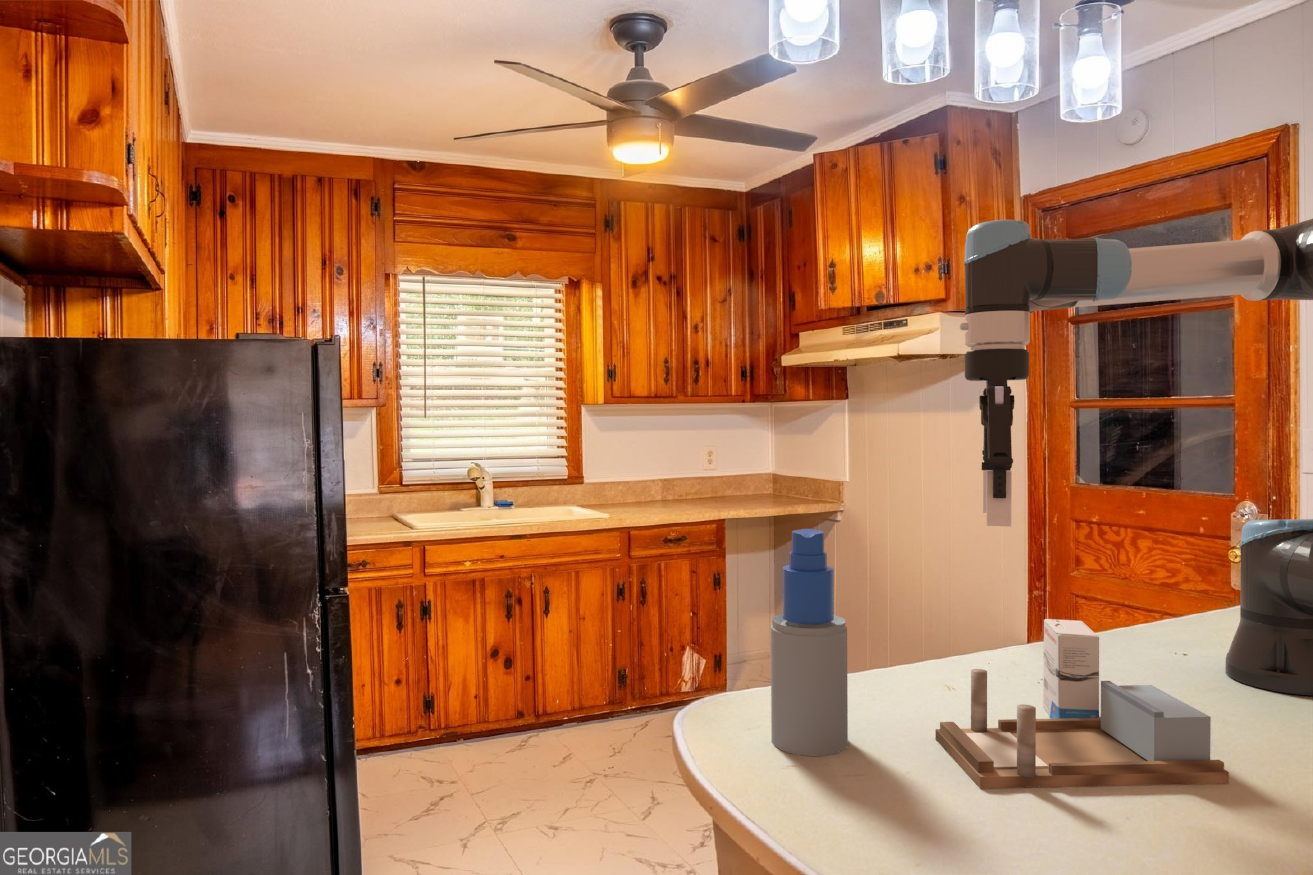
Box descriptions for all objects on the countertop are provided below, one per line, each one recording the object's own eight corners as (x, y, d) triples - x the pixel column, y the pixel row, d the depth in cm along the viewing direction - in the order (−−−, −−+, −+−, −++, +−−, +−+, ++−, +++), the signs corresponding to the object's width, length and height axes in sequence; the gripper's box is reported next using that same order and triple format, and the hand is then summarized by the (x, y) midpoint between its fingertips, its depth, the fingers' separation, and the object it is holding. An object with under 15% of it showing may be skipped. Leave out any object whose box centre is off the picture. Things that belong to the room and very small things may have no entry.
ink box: (1100, 732, 110) (1101, 635, 109) (1056, 730, 111) (1057, 633, 110) (1082, 709, 118) (1082, 619, 118) (1041, 707, 119) (1042, 617, 119)
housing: (1151, 727, 107) (1151, 679, 107) (1210, 763, 96) (1210, 711, 96) (1100, 728, 107) (1100, 680, 107) (1153, 764, 96) (1154, 712, 96)
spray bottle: (779, 725, 113) (778, 524, 112) (852, 732, 110) (851, 527, 110) (764, 751, 105) (762, 534, 104) (842, 760, 102) (841, 537, 101)
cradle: (1150, 733, 109) (1150, 665, 109) (1231, 785, 94) (1231, 706, 94) (934, 737, 108) (934, 669, 108) (981, 790, 94) (981, 711, 93)
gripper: (963, 354, 126) (963, 507, 127) (966, 343, 103) (965, 531, 103) (1021, 353, 124) (1021, 508, 125) (1038, 340, 100) (1037, 533, 101)
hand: (996, 519), depth 114 cm, fingers open, 13 cm apart
